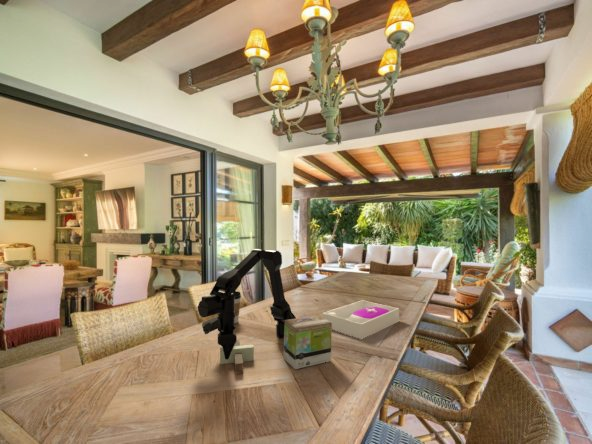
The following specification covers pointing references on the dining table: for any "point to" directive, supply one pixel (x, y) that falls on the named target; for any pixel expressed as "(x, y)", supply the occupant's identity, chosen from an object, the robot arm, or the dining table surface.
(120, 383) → the dining table surface
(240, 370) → the walnut rail
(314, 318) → the tea box
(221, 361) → the pale green pillar
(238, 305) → the coffee cup
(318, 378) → the dining table surface
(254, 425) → the dining table surface
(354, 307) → the cream tray
